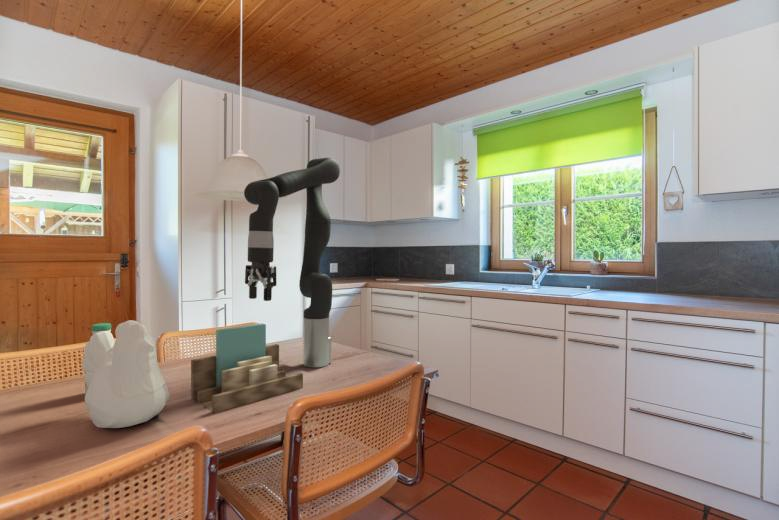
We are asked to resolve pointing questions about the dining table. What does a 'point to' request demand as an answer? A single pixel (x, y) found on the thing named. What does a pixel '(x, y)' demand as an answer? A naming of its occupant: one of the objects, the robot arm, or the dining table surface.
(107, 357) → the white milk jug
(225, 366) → the teal panel
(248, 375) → the offcut stack
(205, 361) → the walnut rack
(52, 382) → the dining table surface
